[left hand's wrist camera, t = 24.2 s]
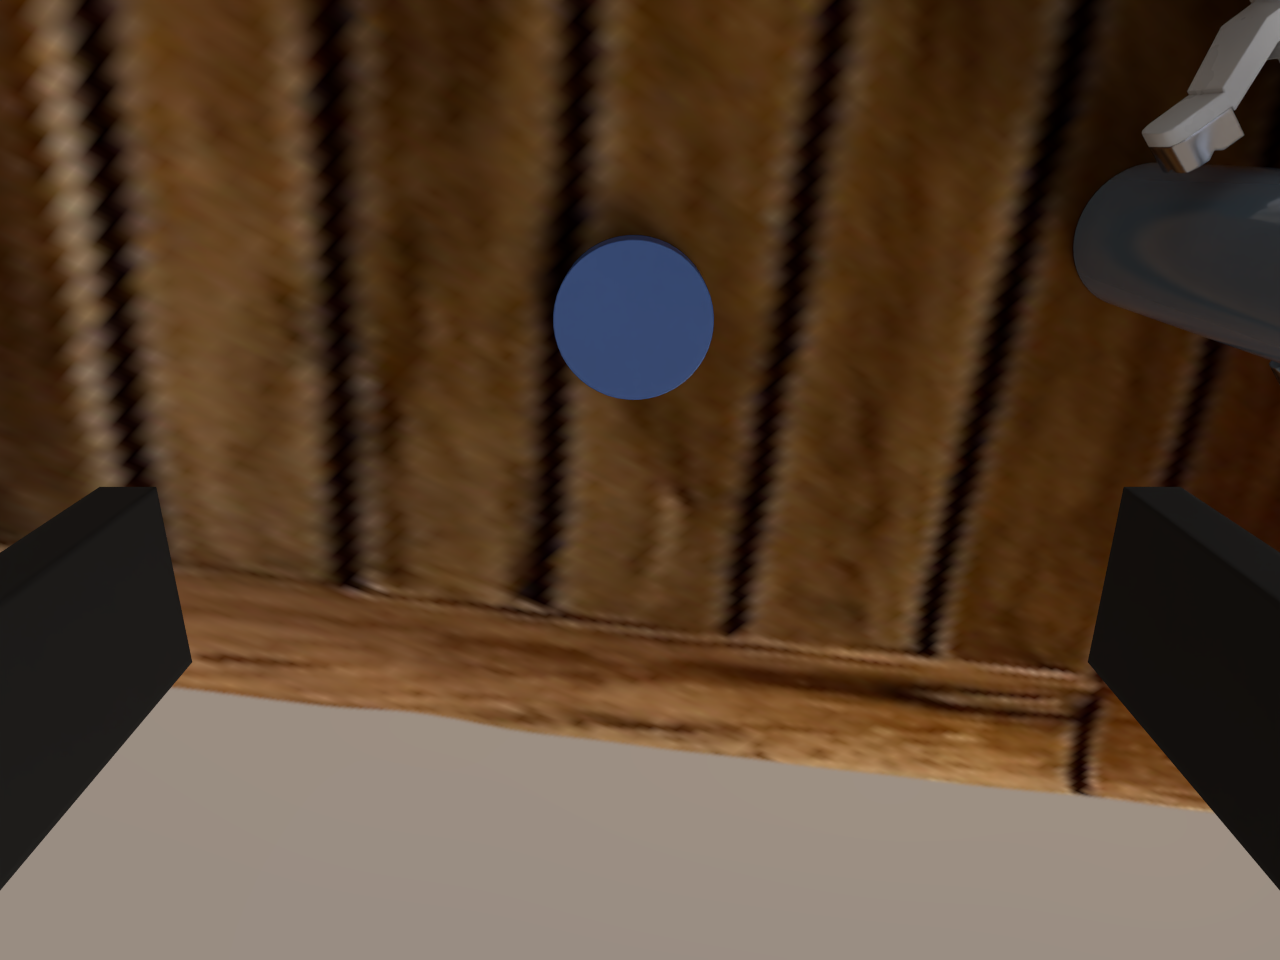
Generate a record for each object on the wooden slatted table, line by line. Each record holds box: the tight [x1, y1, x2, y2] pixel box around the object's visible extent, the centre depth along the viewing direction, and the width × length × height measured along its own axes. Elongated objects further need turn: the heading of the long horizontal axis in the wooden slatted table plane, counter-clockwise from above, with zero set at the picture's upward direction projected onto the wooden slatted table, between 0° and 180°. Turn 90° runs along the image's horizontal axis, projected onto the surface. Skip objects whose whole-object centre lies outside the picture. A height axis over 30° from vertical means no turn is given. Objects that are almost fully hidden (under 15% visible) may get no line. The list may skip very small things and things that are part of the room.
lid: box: [553, 235, 714, 400], centre depth 35 cm, size 6×6×2 cm
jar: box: [1073, 162, 1280, 363], centre depth 27 cm, size 5×5×15 cm
